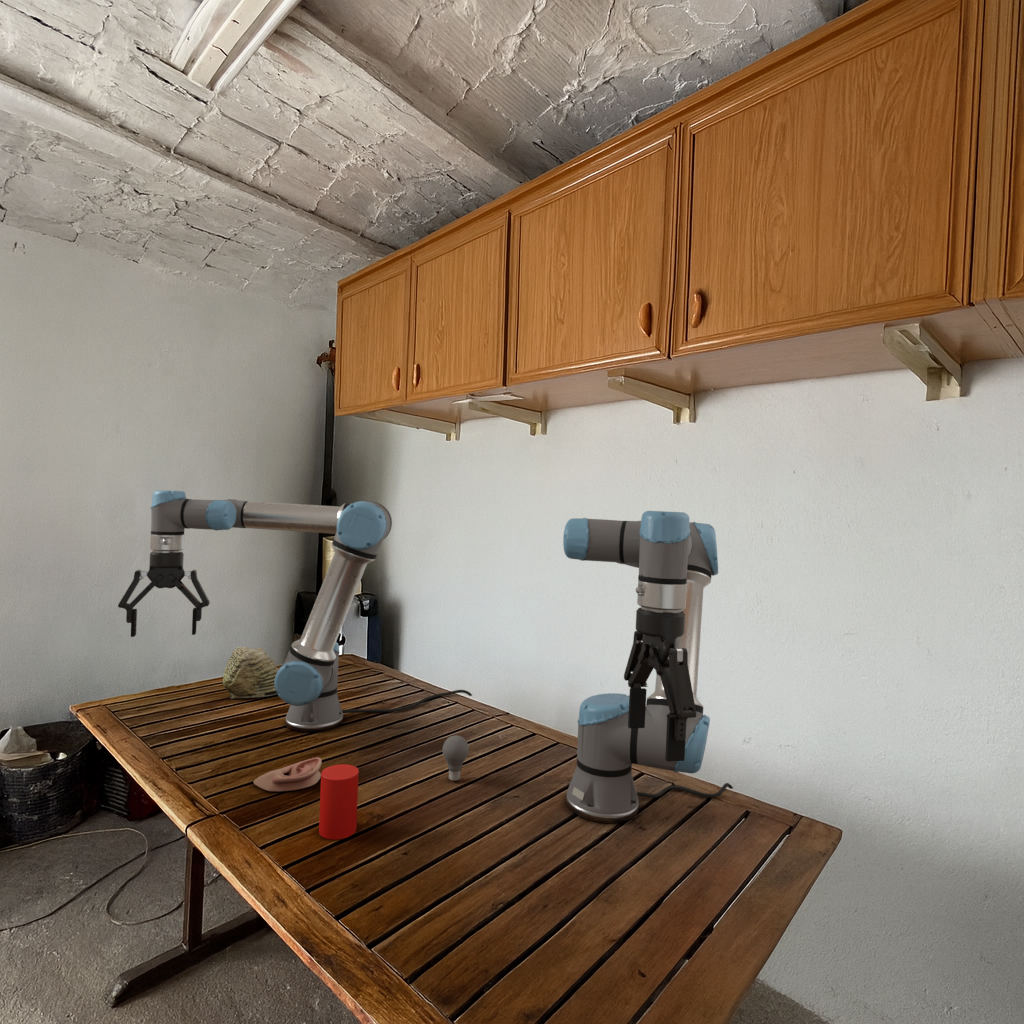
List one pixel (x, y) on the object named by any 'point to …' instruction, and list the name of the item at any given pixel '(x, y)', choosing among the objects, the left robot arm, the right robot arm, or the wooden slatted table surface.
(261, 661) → the fossil
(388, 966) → the wooden slatted table surface
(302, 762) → the anatomical model
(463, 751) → the light bulb
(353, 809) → the canister
